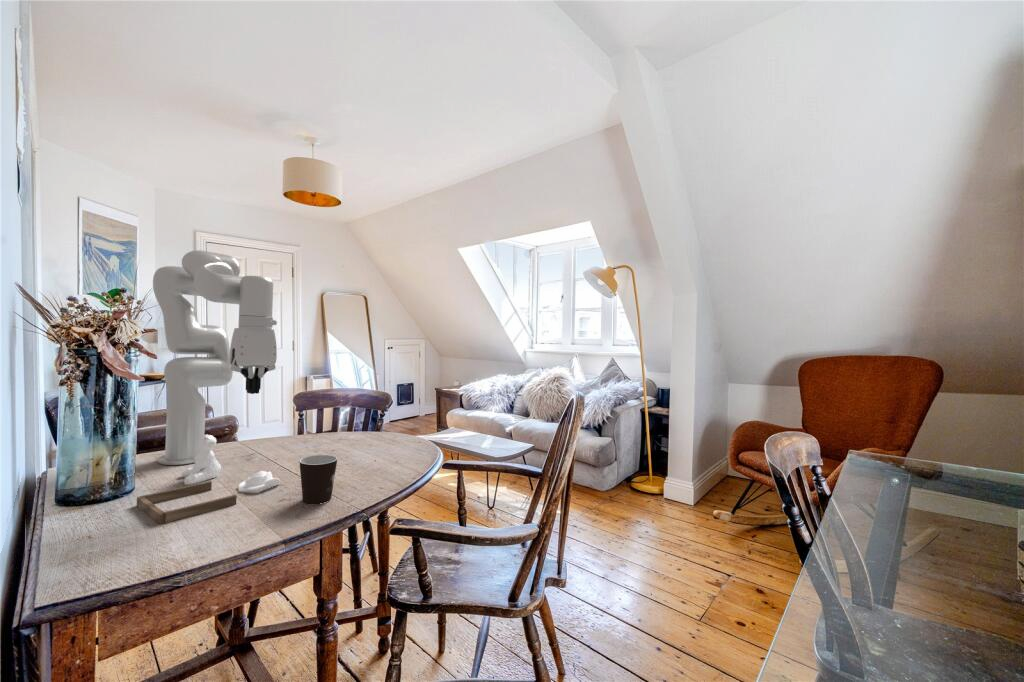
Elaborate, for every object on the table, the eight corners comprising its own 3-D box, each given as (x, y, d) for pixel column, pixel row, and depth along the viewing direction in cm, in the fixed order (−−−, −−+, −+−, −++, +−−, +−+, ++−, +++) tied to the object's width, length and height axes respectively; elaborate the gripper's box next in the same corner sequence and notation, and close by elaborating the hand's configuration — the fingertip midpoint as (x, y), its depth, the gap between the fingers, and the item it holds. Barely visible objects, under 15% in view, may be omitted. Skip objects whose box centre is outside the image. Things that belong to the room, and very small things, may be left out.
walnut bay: (136, 505, 98) (136, 497, 98) (209, 489, 110) (210, 481, 110) (159, 524, 89) (160, 515, 89) (236, 504, 101) (236, 495, 101)
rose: (279, 475, 110) (234, 479, 106) (278, 493, 110) (234, 497, 106) (282, 464, 119) (241, 467, 115) (281, 480, 119) (240, 483, 115)
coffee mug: (321, 508, 101) (323, 466, 101) (289, 504, 102) (291, 462, 102) (349, 491, 112) (351, 453, 112) (320, 487, 114) (322, 450, 114)
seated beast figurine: (180, 476, 118) (181, 433, 118) (217, 470, 124) (219, 429, 123) (184, 486, 111) (186, 440, 111) (224, 479, 117) (226, 435, 117)
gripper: (276, 324, 121) (274, 389, 121) (217, 321, 108) (214, 394, 109) (291, 325, 117) (288, 392, 117) (230, 322, 104) (228, 397, 104)
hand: (252, 393), depth 113 cm, fingers closed
